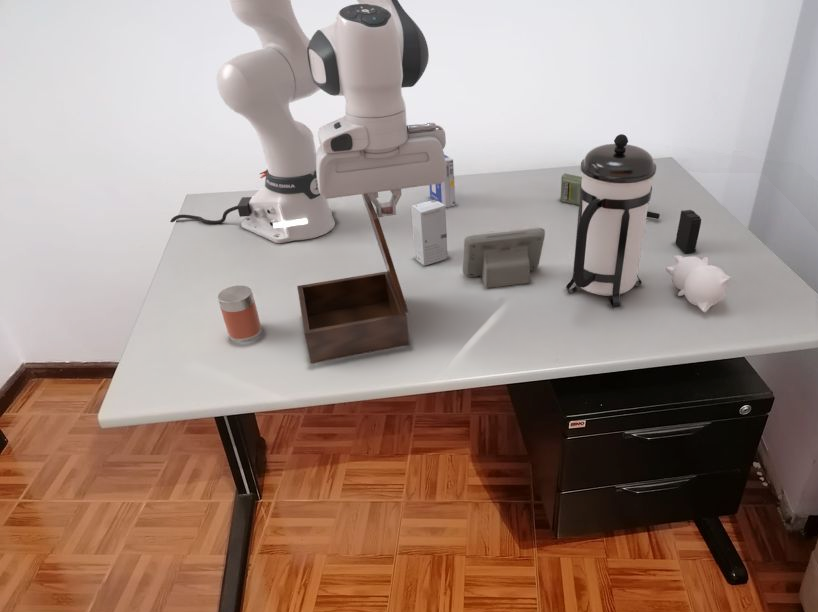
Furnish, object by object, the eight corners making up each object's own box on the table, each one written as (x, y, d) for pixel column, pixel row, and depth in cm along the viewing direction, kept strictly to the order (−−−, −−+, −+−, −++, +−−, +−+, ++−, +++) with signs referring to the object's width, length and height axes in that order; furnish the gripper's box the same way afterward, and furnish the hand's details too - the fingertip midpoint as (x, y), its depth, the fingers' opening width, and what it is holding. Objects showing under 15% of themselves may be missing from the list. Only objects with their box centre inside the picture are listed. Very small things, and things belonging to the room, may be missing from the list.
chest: (311, 367, 106) (304, 333, 102) (303, 317, 119) (297, 285, 115) (409, 348, 110) (406, 315, 106) (392, 302, 122) (388, 270, 118)
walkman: (430, 197, 162) (427, 151, 155) (439, 195, 163) (437, 149, 156) (445, 208, 157) (443, 160, 150) (455, 205, 158) (453, 158, 151)
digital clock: (540, 265, 132) (543, 218, 126) (544, 287, 125) (547, 238, 119) (463, 266, 133) (461, 219, 126) (462, 289, 126) (460, 240, 119)
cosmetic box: (424, 266, 133) (420, 213, 126) (413, 258, 136) (409, 205, 129) (449, 258, 136) (446, 205, 129) (438, 250, 139) (435, 198, 132)
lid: (373, 219, 95) (378, 218, 95) (357, 181, 107) (362, 180, 107) (404, 313, 106) (408, 312, 106) (386, 269, 118) (390, 268, 118)
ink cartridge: (695, 253, 135) (702, 218, 130) (685, 254, 135) (692, 219, 130) (684, 242, 139) (691, 208, 134) (675, 243, 139) (681, 209, 134)
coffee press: (553, 272, 130) (562, 123, 112) (630, 267, 131) (651, 119, 113) (570, 318, 116) (584, 157, 98) (656, 313, 117) (686, 152, 99)
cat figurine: (680, 240, 120) (720, 267, 110) (715, 259, 125) (756, 287, 116) (653, 279, 123) (689, 309, 113) (688, 296, 128) (726, 326, 119)
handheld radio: (564, 197, 160) (661, 218, 149) (558, 202, 158) (656, 224, 147) (566, 171, 156) (665, 192, 145) (560, 176, 154) (660, 197, 143)
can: (223, 340, 113) (210, 297, 108) (246, 324, 117) (234, 282, 112) (247, 349, 111) (234, 305, 106) (269, 332, 115) (258, 289, 110)
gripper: (439, 115, 100) (443, 198, 108) (307, 130, 95) (322, 215, 104) (450, 127, 95) (453, 213, 103) (311, 143, 90) (326, 232, 99)
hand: (386, 214), depth 103 cm, fingers closed
